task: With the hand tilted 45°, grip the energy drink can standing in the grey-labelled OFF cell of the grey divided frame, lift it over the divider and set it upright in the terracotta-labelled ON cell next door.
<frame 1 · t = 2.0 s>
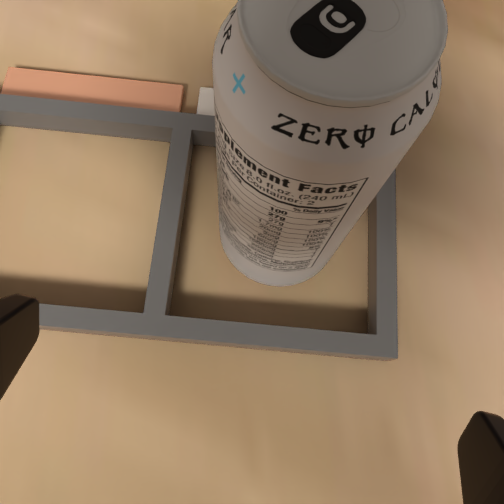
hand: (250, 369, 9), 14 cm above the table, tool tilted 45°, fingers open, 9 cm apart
energy drink can: (276, 237, 25), resting in grey divided frame
grey divided frame: (172, 226, 25), on the table
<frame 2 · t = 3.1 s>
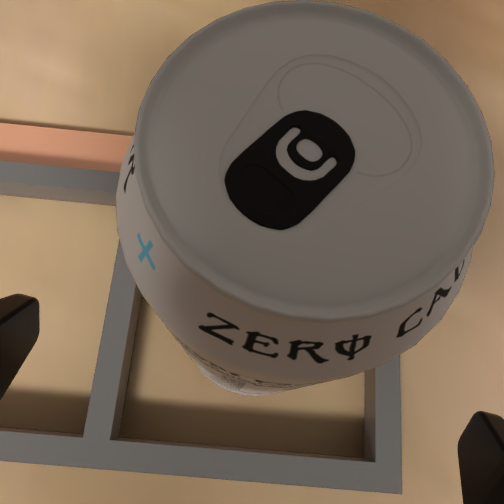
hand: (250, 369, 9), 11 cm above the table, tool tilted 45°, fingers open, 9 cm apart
energy drink can: (253, 325, 21), resting in grey divided frame
grey divided frame: (127, 313, 20), on the table
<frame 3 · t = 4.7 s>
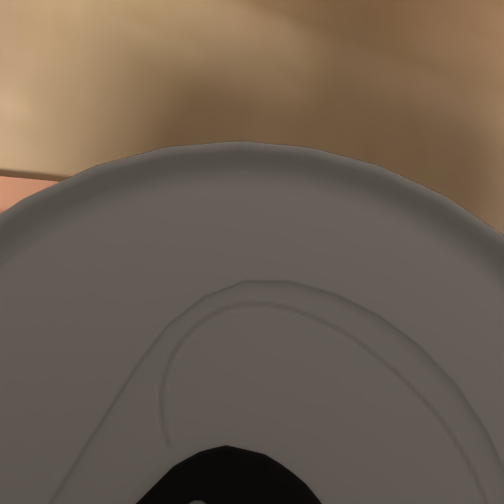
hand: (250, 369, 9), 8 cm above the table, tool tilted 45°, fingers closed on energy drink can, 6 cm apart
energy drink can: (230, 422, 17), resting in grey divided frame, touching gripper
grey divided frame: (73, 409, 16), on the table
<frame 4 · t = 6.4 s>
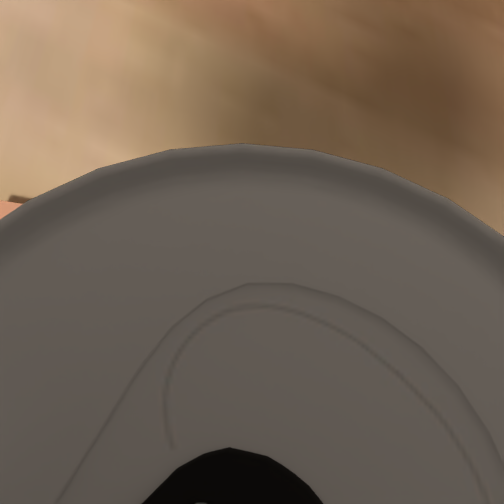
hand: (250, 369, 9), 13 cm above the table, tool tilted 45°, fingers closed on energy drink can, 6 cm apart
energy drink can: (231, 421, 17), point 5 cm above the table, touching gripper
when the fingers open (9 cm above the table, at t = 8.6 s): energy drink can stays where it is, resting in grey divided frame.
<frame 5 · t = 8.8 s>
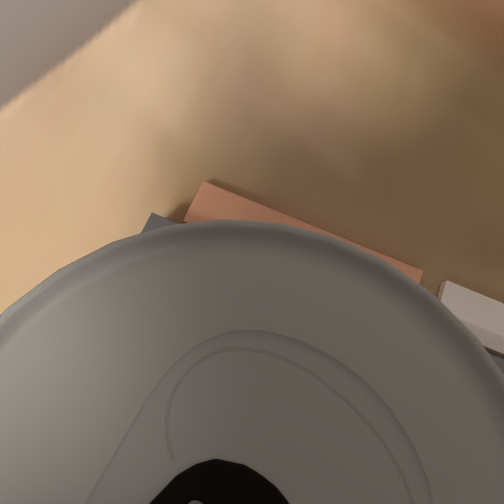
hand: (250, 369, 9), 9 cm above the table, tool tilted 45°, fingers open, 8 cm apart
energy drink can: (229, 425, 18), resting in grey divided frame
grey divided frame: (367, 483, 17), on the table
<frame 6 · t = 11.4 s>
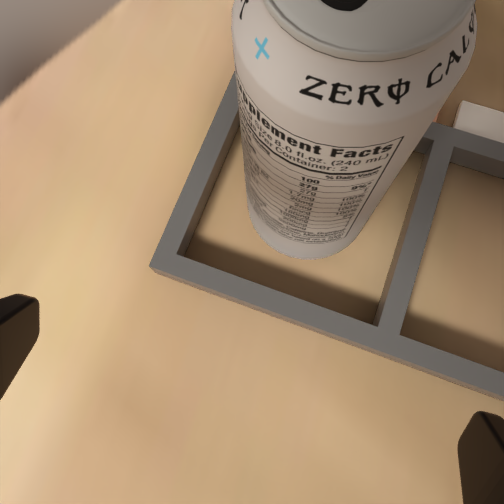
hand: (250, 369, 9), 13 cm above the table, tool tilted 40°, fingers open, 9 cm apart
energy drink can: (305, 209, 24), resting in grey divided frame
grey divided frame: (408, 241, 24), on the table
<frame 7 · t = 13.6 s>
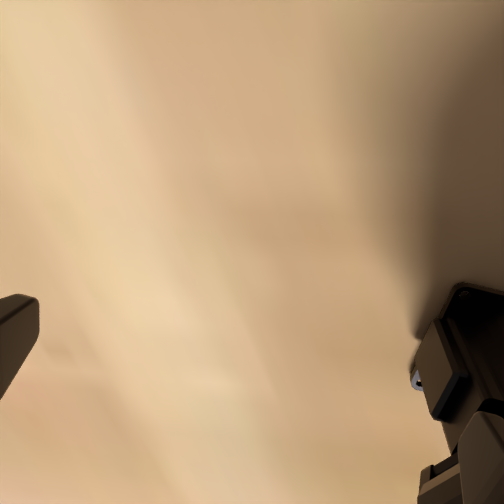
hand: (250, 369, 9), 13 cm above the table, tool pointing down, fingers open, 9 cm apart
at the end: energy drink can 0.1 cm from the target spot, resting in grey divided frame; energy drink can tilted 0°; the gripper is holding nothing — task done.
